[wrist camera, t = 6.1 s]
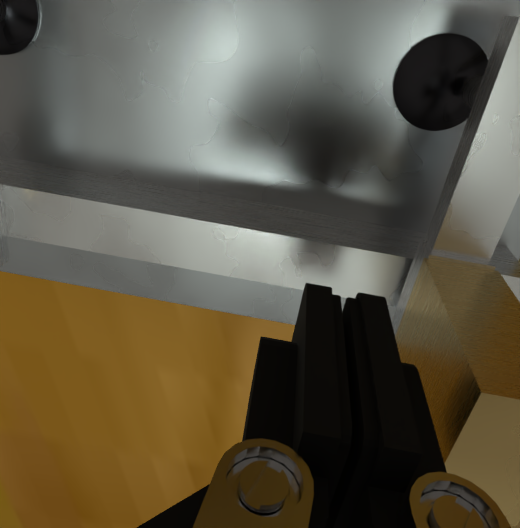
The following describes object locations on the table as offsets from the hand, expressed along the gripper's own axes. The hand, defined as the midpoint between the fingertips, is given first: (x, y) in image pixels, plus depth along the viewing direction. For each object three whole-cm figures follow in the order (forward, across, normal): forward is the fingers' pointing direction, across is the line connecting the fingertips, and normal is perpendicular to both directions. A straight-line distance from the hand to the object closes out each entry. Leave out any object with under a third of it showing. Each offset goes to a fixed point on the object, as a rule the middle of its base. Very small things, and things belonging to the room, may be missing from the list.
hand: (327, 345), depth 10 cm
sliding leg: (+5, -3, -3) cm, 6 cm away
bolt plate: (+7, +3, -2) cm, 8 cm away
